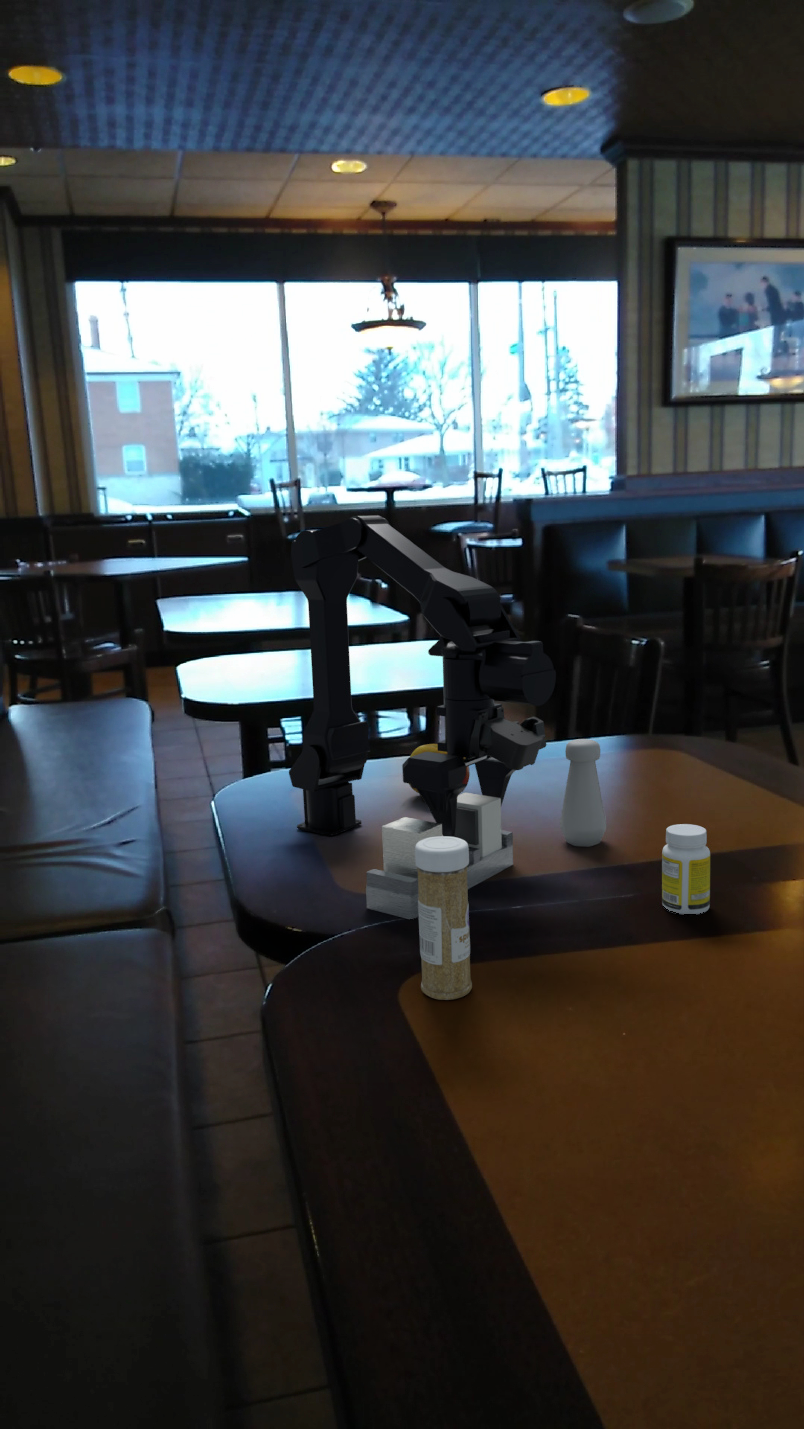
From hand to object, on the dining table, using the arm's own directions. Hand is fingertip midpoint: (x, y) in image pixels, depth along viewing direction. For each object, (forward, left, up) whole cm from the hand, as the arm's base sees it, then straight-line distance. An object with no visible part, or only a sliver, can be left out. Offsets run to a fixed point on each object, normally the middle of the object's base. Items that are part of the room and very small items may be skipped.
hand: (471, 828), depth 117 cm
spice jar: (+15, -27, -5) cm, 31 cm away
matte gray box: (0, 0, -2) cm, 3 cm away
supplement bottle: (+25, +2, -5) cm, 26 cm away
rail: (0, -6, -5) cm, 8 cm away
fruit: (-22, +24, -5) cm, 33 cm away
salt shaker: (+6, +16, -5) cm, 18 cm away
